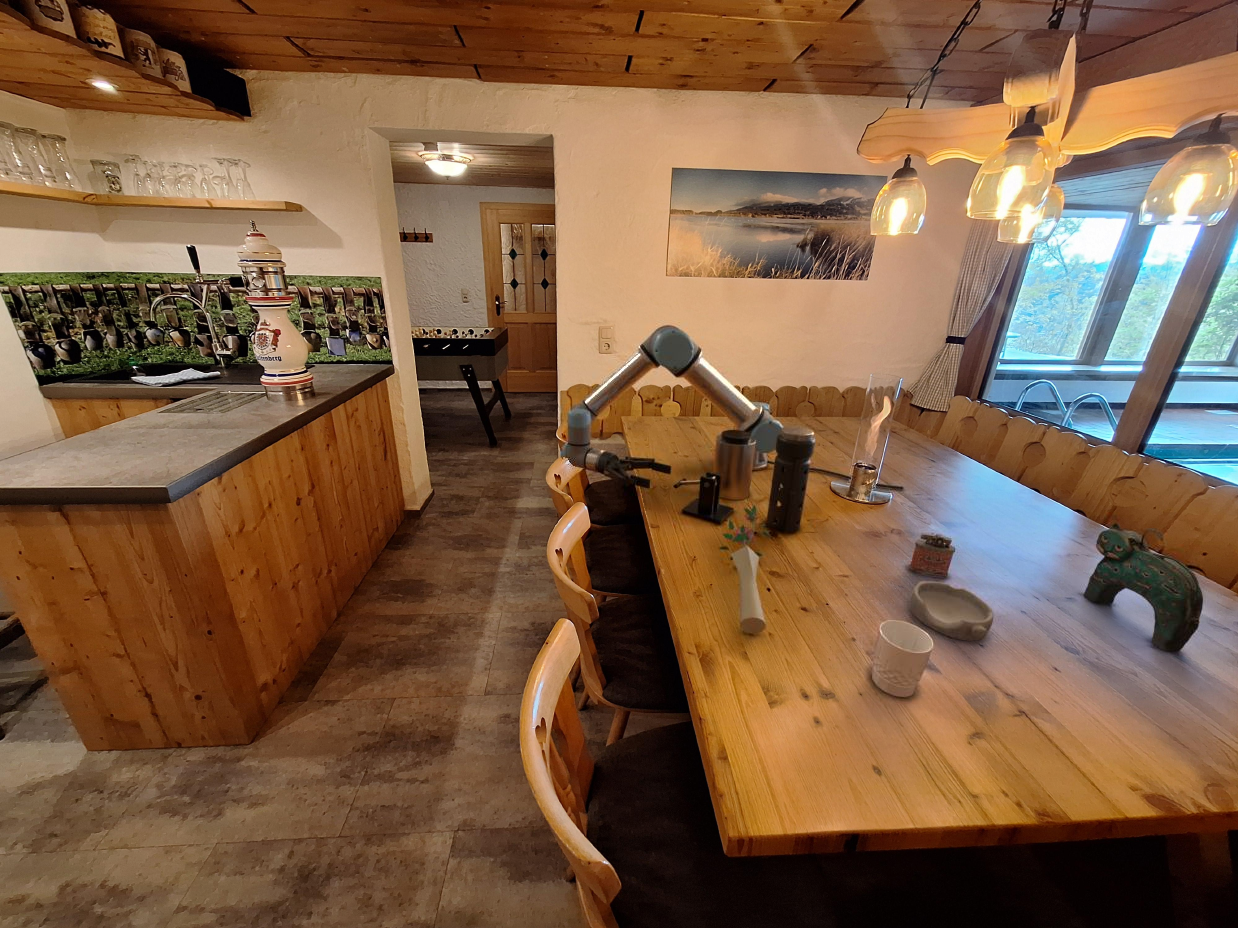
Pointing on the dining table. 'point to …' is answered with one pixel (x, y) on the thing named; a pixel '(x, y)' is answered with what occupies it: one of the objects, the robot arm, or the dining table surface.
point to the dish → (951, 610)
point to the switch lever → (689, 482)
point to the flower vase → (747, 575)
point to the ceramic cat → (1148, 584)
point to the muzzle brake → (790, 478)
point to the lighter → (932, 556)
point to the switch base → (709, 501)
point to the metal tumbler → (734, 463)
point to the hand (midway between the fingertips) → (660, 477)
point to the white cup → (900, 657)
